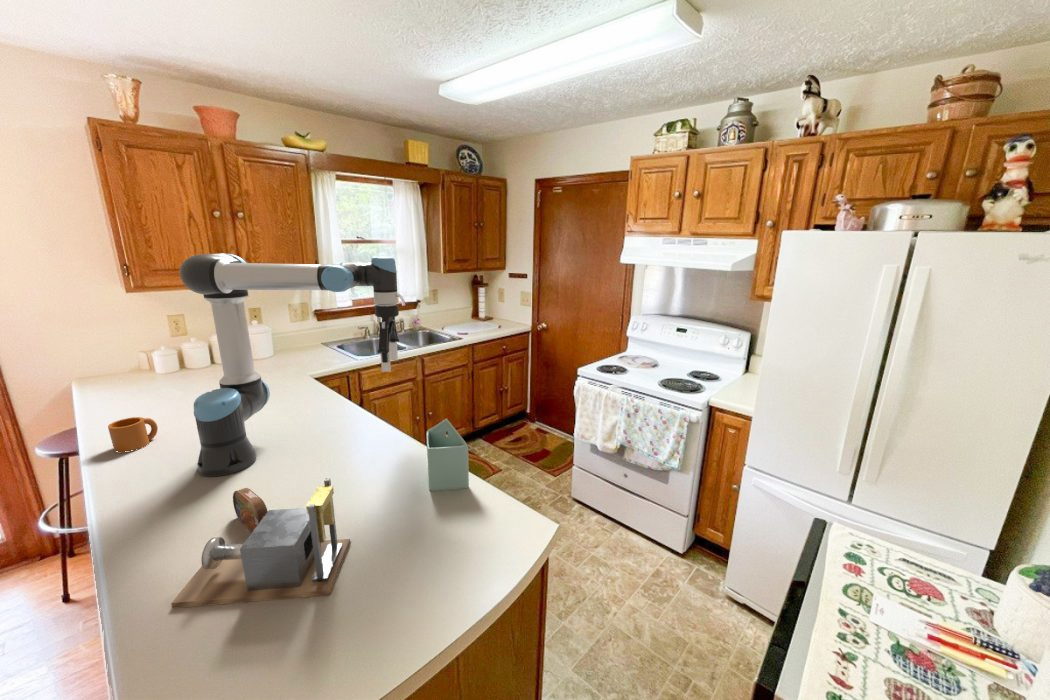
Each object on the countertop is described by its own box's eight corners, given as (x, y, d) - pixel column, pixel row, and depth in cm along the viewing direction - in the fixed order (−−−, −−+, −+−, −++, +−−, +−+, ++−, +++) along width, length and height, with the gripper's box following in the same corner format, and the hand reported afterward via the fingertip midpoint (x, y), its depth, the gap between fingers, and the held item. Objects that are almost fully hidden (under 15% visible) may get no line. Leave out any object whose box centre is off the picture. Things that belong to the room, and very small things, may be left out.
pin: (204, 576, 84) (199, 551, 82) (221, 554, 89) (216, 531, 88) (288, 570, 86) (285, 545, 84) (300, 549, 92) (297, 526, 90)
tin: (234, 515, 107) (228, 486, 105) (247, 509, 109) (242, 481, 107) (259, 540, 98) (254, 509, 96) (273, 533, 101) (268, 503, 98)
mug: (164, 442, 143) (159, 418, 141) (117, 456, 134) (110, 431, 132) (157, 434, 149) (152, 411, 146) (111, 447, 139) (104, 423, 137)
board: (172, 608, 80) (171, 602, 79) (217, 552, 94) (217, 547, 94) (329, 595, 83) (328, 590, 83) (350, 543, 98) (349, 538, 97)
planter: (410, 481, 123) (406, 420, 118) (429, 470, 130) (427, 411, 125) (450, 500, 115) (448, 435, 110) (469, 487, 121) (468, 425, 116)
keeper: (311, 543, 84) (306, 506, 82) (322, 521, 91) (318, 486, 89) (326, 542, 85) (322, 505, 83) (336, 520, 91) (333, 485, 89)
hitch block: (247, 590, 82) (233, 514, 78) (274, 548, 94) (264, 479, 89) (326, 584, 84) (316, 509, 80) (343, 543, 96) (336, 475, 91)
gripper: (390, 310, 125) (394, 376, 131) (404, 299, 149) (406, 355, 155) (365, 310, 124) (370, 376, 130) (382, 299, 148) (386, 355, 154)
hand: (390, 365), depth 142 cm, fingers open, 13 cm apart
